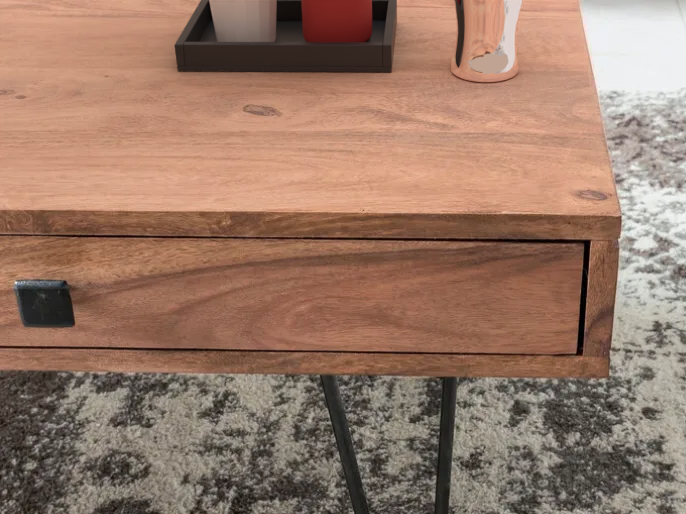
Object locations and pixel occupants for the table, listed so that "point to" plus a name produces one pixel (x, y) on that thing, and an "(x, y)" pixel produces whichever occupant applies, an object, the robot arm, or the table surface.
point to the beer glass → (486, 40)
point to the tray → (287, 45)
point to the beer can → (337, 20)
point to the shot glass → (244, 20)
